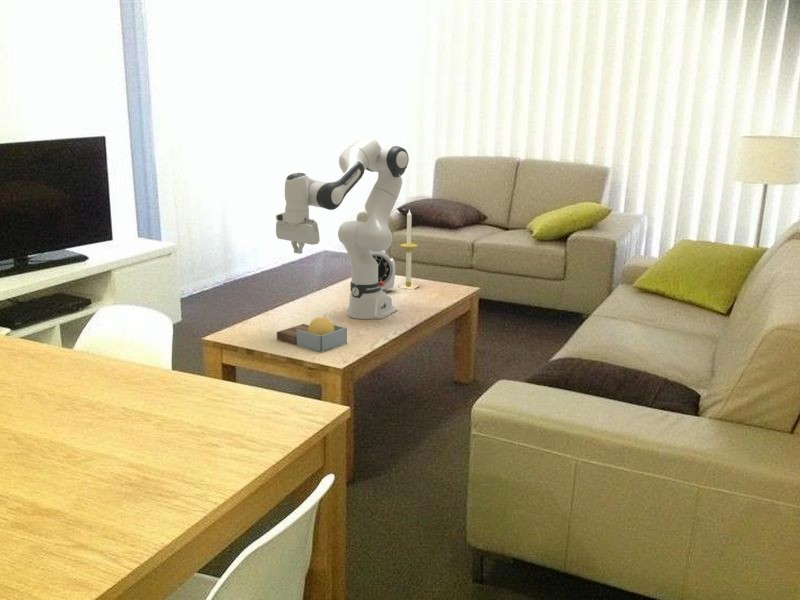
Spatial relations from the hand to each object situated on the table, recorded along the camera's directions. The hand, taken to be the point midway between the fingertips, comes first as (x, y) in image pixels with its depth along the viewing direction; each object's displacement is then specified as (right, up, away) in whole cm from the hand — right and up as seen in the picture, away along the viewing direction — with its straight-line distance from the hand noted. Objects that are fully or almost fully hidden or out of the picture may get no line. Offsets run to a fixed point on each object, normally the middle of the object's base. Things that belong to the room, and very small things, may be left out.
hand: (298, 253), depth 306 cm
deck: (+1, -32, 0) cm, 32 cm away
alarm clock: (+27, -14, +70) cm, 76 cm away
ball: (+10, -29, -10) cm, 32 cm away
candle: (+43, -12, +79) cm, 90 cm away
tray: (+10, -34, -7) cm, 36 cm away
